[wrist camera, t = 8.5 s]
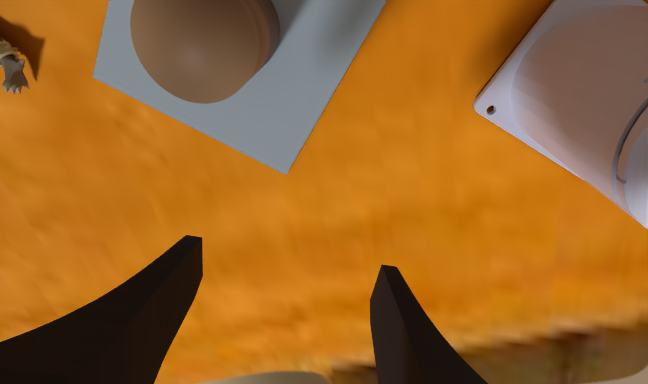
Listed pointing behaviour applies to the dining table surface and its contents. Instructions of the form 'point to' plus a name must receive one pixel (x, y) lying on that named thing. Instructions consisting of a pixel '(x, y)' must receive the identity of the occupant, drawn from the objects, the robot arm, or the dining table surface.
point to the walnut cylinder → (204, 44)
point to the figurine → (12, 68)
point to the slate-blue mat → (255, 77)
